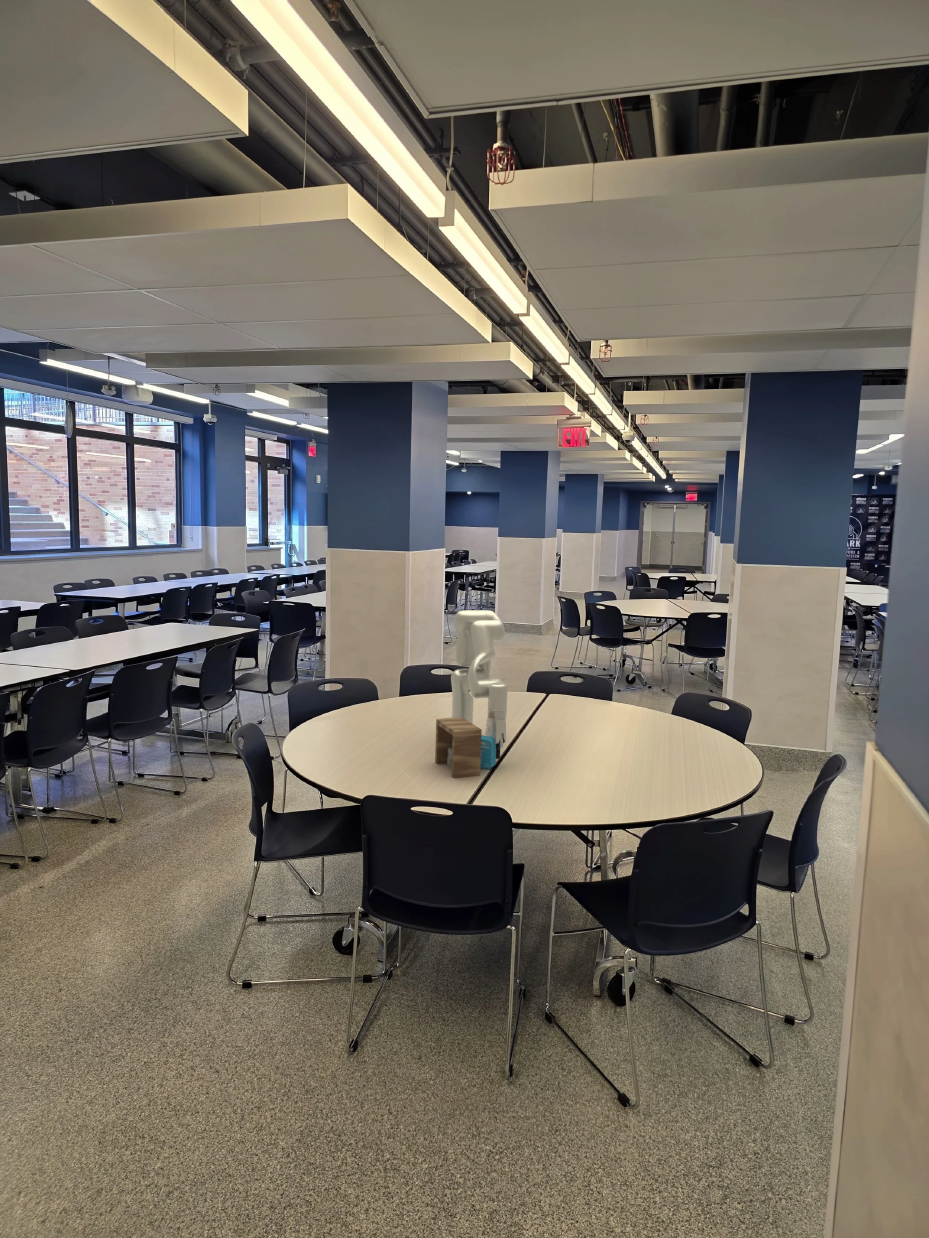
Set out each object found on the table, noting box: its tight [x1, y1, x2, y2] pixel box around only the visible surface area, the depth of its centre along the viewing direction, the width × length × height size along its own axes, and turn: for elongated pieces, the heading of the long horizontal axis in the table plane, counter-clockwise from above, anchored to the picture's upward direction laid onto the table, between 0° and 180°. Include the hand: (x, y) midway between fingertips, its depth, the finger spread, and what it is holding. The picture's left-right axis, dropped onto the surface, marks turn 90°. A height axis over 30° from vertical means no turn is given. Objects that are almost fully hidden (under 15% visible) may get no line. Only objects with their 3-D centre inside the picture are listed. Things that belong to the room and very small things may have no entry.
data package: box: [480, 734, 497, 770], centre depth 293 cm, size 12×4×12 cm, turn 62°
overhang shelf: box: [434, 717, 483, 779], centre depth 289 cm, size 20×11×18 cm, turn 23°
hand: (495, 758), depth 296 cm, fingers closed
